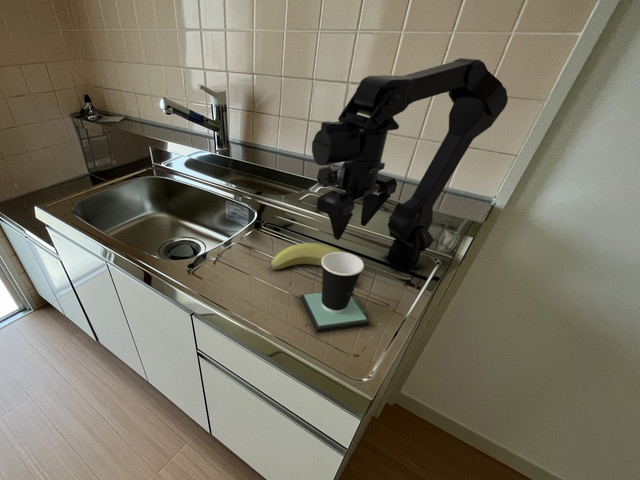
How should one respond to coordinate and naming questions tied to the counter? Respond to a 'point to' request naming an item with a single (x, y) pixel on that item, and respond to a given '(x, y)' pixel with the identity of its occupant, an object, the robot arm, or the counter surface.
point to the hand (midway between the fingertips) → (350, 231)
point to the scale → (333, 314)
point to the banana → (302, 255)
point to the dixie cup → (339, 279)
